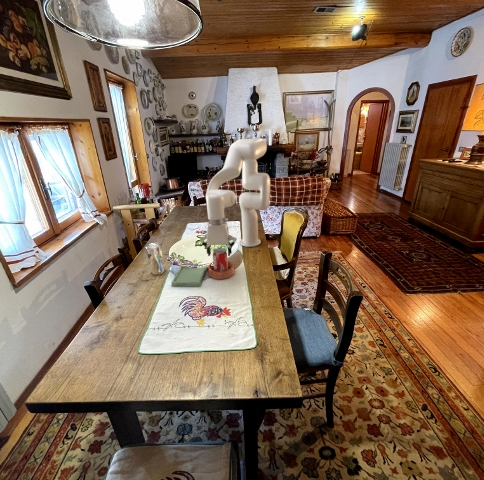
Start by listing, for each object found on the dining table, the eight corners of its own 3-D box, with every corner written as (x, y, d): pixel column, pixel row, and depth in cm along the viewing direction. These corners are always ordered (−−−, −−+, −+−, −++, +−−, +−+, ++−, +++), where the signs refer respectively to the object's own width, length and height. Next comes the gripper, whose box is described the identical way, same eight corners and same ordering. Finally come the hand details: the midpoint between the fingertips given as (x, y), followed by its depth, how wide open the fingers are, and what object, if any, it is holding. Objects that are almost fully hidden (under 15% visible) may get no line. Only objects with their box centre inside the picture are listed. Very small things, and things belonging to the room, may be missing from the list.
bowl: (211, 266, 132) (210, 259, 131) (235, 266, 131) (234, 259, 130) (206, 279, 121) (206, 272, 119) (232, 279, 120) (232, 272, 118)
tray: (182, 267, 133) (182, 263, 132) (207, 267, 132) (206, 263, 131) (172, 286, 118) (171, 282, 117) (199, 286, 116) (199, 282, 116)
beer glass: (167, 268, 133) (162, 242, 127) (162, 275, 126) (156, 248, 120) (154, 268, 134) (149, 242, 127) (149, 275, 127) (143, 248, 121)
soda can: (226, 276, 122) (224, 254, 117) (212, 275, 123) (210, 253, 119) (230, 268, 128) (228, 247, 123) (216, 268, 130) (214, 247, 125)
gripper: (236, 218, 117) (238, 251, 124) (199, 218, 119) (203, 251, 126) (234, 223, 111) (236, 258, 117) (196, 224, 112) (200, 258, 119)
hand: (219, 254), depth 121 cm, fingers open, 9 cm apart
